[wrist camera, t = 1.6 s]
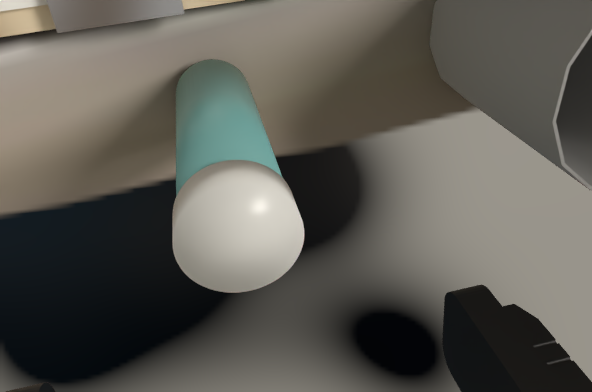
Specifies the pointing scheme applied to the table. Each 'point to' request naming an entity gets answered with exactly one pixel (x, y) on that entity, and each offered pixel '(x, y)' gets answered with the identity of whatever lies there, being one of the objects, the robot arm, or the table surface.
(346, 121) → the table surface
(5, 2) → the clipboard
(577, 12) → the cup
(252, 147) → the marker
